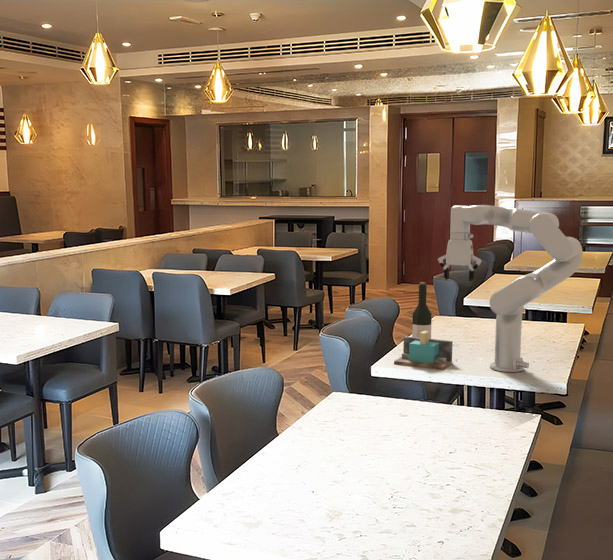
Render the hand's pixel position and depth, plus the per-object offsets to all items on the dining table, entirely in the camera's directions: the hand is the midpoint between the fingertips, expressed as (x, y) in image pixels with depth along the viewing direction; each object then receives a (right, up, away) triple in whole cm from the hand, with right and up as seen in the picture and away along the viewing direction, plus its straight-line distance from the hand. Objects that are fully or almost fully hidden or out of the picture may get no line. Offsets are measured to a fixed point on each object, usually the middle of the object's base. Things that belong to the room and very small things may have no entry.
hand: (458, 279), depth 280 cm
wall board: (-14, -33, +1) cm, 36 cm away
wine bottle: (-12, -31, +21) cm, 39 cm away
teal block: (-14, -32, +2) cm, 35 cm away
